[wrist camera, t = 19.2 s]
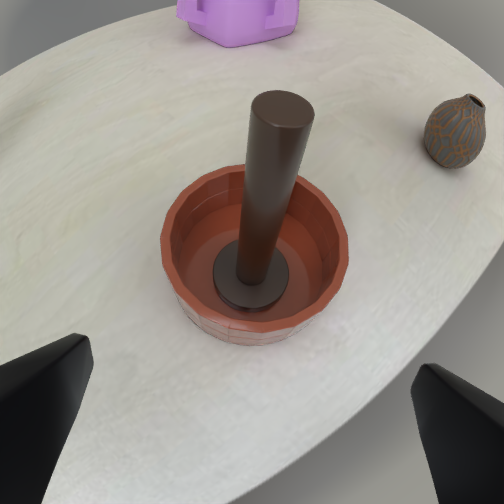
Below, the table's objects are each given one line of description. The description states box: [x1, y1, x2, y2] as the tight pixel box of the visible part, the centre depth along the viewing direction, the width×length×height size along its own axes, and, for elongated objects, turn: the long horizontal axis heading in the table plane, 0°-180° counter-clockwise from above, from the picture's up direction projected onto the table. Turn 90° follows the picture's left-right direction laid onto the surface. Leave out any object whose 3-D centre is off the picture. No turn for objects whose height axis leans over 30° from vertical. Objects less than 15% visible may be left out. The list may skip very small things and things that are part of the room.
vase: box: [424, 94, 486, 168], centre depth 27 cm, size 7×7×9 cm
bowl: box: [160, 164, 349, 346], centre depth 21 cm, size 11×11×4 cm
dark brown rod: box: [213, 90, 315, 312], centre depth 15 cm, size 5×5×14 cm
